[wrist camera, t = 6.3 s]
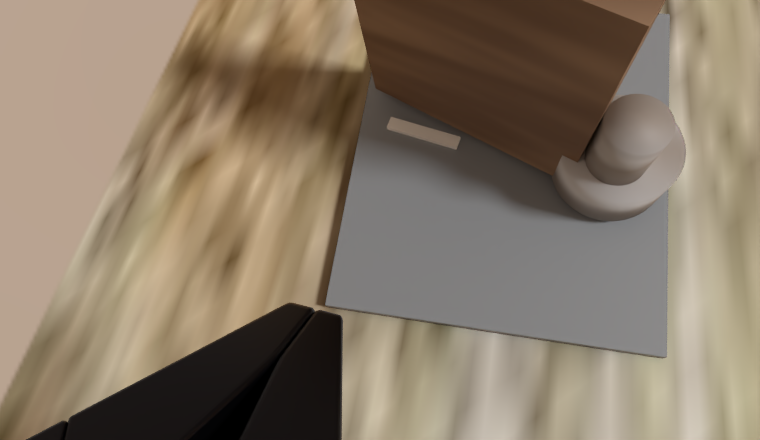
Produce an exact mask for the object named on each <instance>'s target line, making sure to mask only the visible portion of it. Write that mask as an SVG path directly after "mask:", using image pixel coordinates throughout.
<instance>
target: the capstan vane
mask: <svg viewBox="0 0 760 440" xmlns="http://www.w3.org/2000/svg"><path fill="white" fill-rule="evenodd" d="M354 1H355V5H356V9H357V13H358V17H359V21H360V26H361V30H362V34H363V38H364V42H365V46H366V50H367V55H368V59H369V63H370V67H371V71H372V75H373V79H374V84H375V88H376V89H378V90H380V91H382V92H384V93H386V94H388V95H390V96H392V97H394V98H396V99H398V100H400V101H402V102H404V103H406V104H408V105H410V106H412V107H414V108H416V109H418V110H420V111H422V112H424V113H426V114H428V115H430V116H432V117H434V118H436V119H438V120H440V121H442V122H444V123H446V124H448V125H450V126H452V127H455V128H457V129H459V130H461V131H463V132H465V133H467V134H469V135H471V136H473V137H475V138H477V139H479V140H481V141H483V142H485V143H487V144H489V145H491V146H493V147H495V148H497V149H499V150H501V151H503V152H505V153H507V154H509V155H511V156H513V157H515V158H517V159H519V160H521V161H523V162H525V163H527V164H529V165H531V166H533V167H535V168H537V169H539V170H541V171H544V172H546V173H548V174H550V175H551V176H552V180H553V184H554V186H555V188H556V190H557V192H558V193H559V195H560V196H561V198H562V199H563V200H564V201H565V202H566V203H567V204H568V205H569V206H570V207H571V208H573V209H574V210H575V211H577V212H579V213H580V214H582V215H585V216H587V217H589V218H593V219H596V220H602V221H621V220H626V219H629V218H633V217H635V216H637V215H639V214H641V213H642V212H644V211H646V210H647V209H648V208H649V207H650V206H651V205H652V204H653V203H654V202H655V201H656V200H657V199H658V198H659V197H660V196H661V195H662V194H663V193H664V192H665V191H667V190H668V189H669V188H670V187H671V186H672V185H673V183H674V182H675V181H676V180H677V178H678V177H679V175H680V174H681V172H682V169H683V167H684V163H685V157H686V147H685V142H684V138H683V135H682V133H681V131H680V129H679V127H678V125H677V124H676V122H675V119H674V116H673V114H672V112H671V111H670V109H669V108H668V107H667V106H666V105H665V104H664V103H663V102H662V101H660V100H658V99H657V98H654V97H652V96H649V95H645V94H629V95H616V93H617V91H618V89H619V87H620V85H621V83H622V81H623V80H624V78H625V76H626V74H627V72H628V70H629V68H630V66H631V65H632V63H633V61H634V59H635V57H636V55H637V53H638V51H639V49H640V48H641V46H642V44H643V42H644V40H645V38H646V36H647V34H648V33H649V31H650V29H651V27H652V25H653V23H654V21H655V19H656V18H657V16H658V14H659V12H660V10H661V8H662V6H663V4H664V3H665V1H666V0H354Z"/></svg>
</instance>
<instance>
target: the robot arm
mask: <svg viewBox="0 0 760 440" xmlns="http://www.w3.org/2000/svg"><path fill="white" fill-rule="evenodd" d="M342 341H343V320H342V317H341V316H340V315H337V314H334V313H330V312H326V311H322V310H318V311H314V309H313V308H311V307H307V306H303V305H300V304H296V303H287V304H285V305H283V306H281V307H279V308H277V309H275V310H273V311H271V312H269V313H268V314H266V315H264V316H262V317H260V318H258V319H256V320H254V321H252V322H250V323H248V324H247V325H245V326H243V327H241V328H239V329H237V330H235V331H233V332H231V333H229V334H227V335H226V336H224V337H222V338H220V339H218V340H216V341H214V342H212V343H210V344H208V345H206V346H205V347H203V348H201V349H199V350H197V351H195V352H193V353H191V354H189V355H187V356H185V357H184V358H182V359H180V360H178V361H176V362H174V363H172V364H170V365H168V366H166V367H165V368H163V369H161V370H159V371H157V372H155V373H153V374H151V375H149V376H147V377H145V378H144V379H142V380H140V381H138V382H136V383H134V384H132V385H130V386H128V387H126V388H124V389H123V390H121V391H119V392H117V393H115V394H113V395H111V396H109V397H107V398H105V399H103V400H102V401H100V402H98V403H96V404H94V405H92V406H90V407H88V408H86V409H84V410H82V411H81V412H79V413H77V414H75V415H73V416H71V417H70V418H69V420H68V422H66V421H61V422H59V423H57V424H55V425H53V426H51V427H50V428H48V429H46V430H44V431H42V432H40V433H38V434H36V435H34V436H32V437H30V438H28V439H26V440H342Z"/></svg>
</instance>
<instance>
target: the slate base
mask: <svg viewBox="0 0 760 440" xmlns="http://www.w3.org/2000/svg"><path fill="white" fill-rule="evenodd" d="M669 20H670V14H658V16H657V18H656V19H655V21H654V23H653V25H652V27H651V29H650V31H649V33H648V34H647V36H646V38H645V40H644V42H643V44H642V46H641V48H640V49H639V51H638V53H637V55H636V57H635V59H634V61H633V63H632V65H631V66H630V68H629V70H628V72H627V74H626V76H625V78H624V80H623V81H622V83H621V85H620V87H619V89H618V91H617V93H616V95H629V94H645V95H649V96H652V97H654V98H657V99H658V100H660V101H662V102H663V103H664V104H665V105H666V106H667V107H668V108H669ZM667 275H668V190H667V191H665V192H664V193H663V194H662V195H661V196H660V197H659V198H658V199H657V200H656V201H655V202H654V203H653V204H652V205H651V206H650V207H649V208H648V209H647V210H646V211H644V212H642V213H641V214H639V215H637V216H635V217H633V218H629V219H626V220H621V221H602V220H596V219H593V218H589V217H587V216H585V215H582V214H580V213H579V212H577V211H575V210H574V209H573V208H571V207H570V206H569V205H568V204H567V203H566V202H565V201H564V200H563V199H562V198H561V196H560V195H559V193H558V192H557V190H556V188H555V186H554V184H553V180H552V176H551V175H550V174H548V173H546V172H544V171H541V170H539V169H537V168H535V167H533V166H531V165H529V164H527V163H525V162H523V161H521V160H519V159H517V158H515V157H513V156H511V155H509V154H507V153H505V152H503V151H501V150H499V149H497V148H495V147H493V146H491V145H489V144H487V143H485V142H483V141H481V140H479V139H477V138H475V137H473V136H471V135H469V134H467V133H465V132H463V131H461V130H459V129H457V128H455V127H452V126H450V125H448V124H446V123H444V122H442V121H440V120H438V119H436V118H434V117H432V116H430V115H428V114H426V113H424V112H422V111H420V110H418V109H416V108H414V107H412V106H410V105H408V104H406V103H404V102H402V101H400V100H398V99H396V98H394V97H392V96H390V95H388V94H386V93H384V92H382V91H380V90H378V89H376V88H375V84H374V79H373V75H372V72H371V77H370V82H369V87H368V92H367V97H366V102H365V107H364V112H363V117H362V122H361V127H360V132H359V137H358V142H357V147H356V152H355V157H354V162H353V167H352V172H351V177H350V182H349V187H348V192H347V197H346V202H345V207H344V212H343V217H342V222H341V227H340V232H339V237H338V242H337V247H336V252H335V257H334V262H333V267H332V272H331V277H330V282H329V287H328V292H327V297H326V302H325V306H327V307H331V308H338V309H344V310H351V311H358V312H364V313H371V314H377V315H384V316H390V317H397V318H403V319H410V320H416V321H423V322H429V323H436V324H442V325H449V326H455V327H462V328H468V329H475V330H481V331H488V332H495V333H501V334H508V335H514V336H521V337H527V338H534V339H540V340H547V341H553V342H560V343H566V344H573V345H579V346H586V347H592V348H599V349H605V350H612V351H619V352H625V353H632V354H638V355H645V356H651V357H658V358H666V357H667Z"/></svg>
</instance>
